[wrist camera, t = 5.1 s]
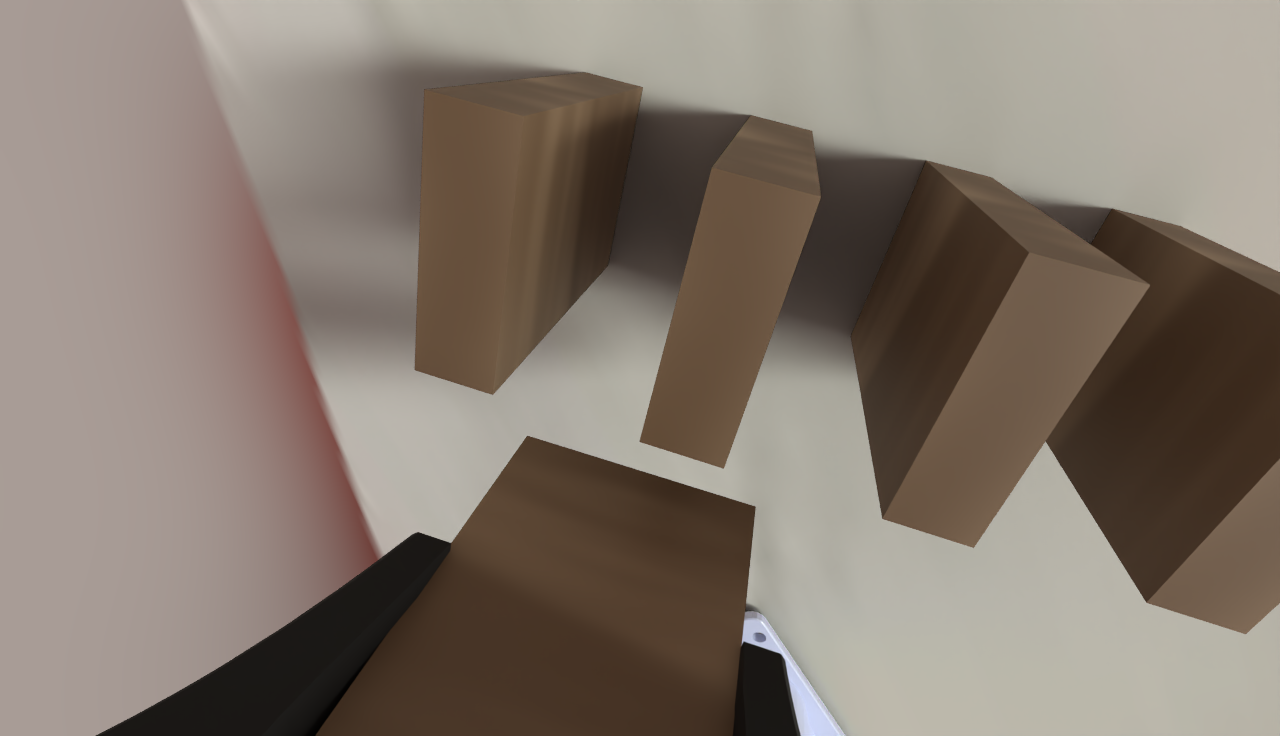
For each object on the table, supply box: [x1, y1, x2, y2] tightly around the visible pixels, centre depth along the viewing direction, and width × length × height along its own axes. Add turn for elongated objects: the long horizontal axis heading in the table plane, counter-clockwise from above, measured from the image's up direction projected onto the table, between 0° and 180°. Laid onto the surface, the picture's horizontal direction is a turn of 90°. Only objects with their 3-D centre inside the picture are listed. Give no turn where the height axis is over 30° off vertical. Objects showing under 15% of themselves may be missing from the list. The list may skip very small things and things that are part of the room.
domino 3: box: [640, 115, 821, 468], centre depth 13 cm, size 2×5×8 cm, turn 168°
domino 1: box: [415, 72, 643, 395], centre depth 14 cm, size 2×5×8 cm, turn 168°
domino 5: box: [1046, 209, 1280, 634], centre depth 13 cm, size 2×5×8 cm, turn 169°
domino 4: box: [851, 161, 1150, 548], centre depth 13 cm, size 2×5×8 cm, turn 168°
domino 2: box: [315, 436, 755, 736], centre depth 10 cm, size 2×5×8 cm, turn 79°
